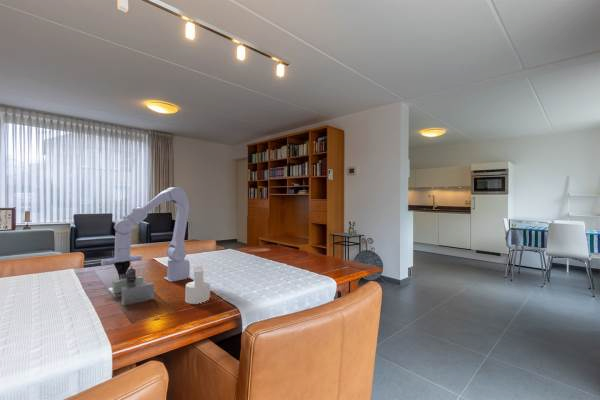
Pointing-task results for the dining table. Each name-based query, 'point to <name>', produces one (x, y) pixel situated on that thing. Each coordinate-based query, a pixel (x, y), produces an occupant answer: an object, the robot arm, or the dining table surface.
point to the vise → (135, 293)
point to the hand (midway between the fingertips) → (121, 279)
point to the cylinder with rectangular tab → (197, 288)
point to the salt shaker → (131, 277)
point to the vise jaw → (124, 282)
